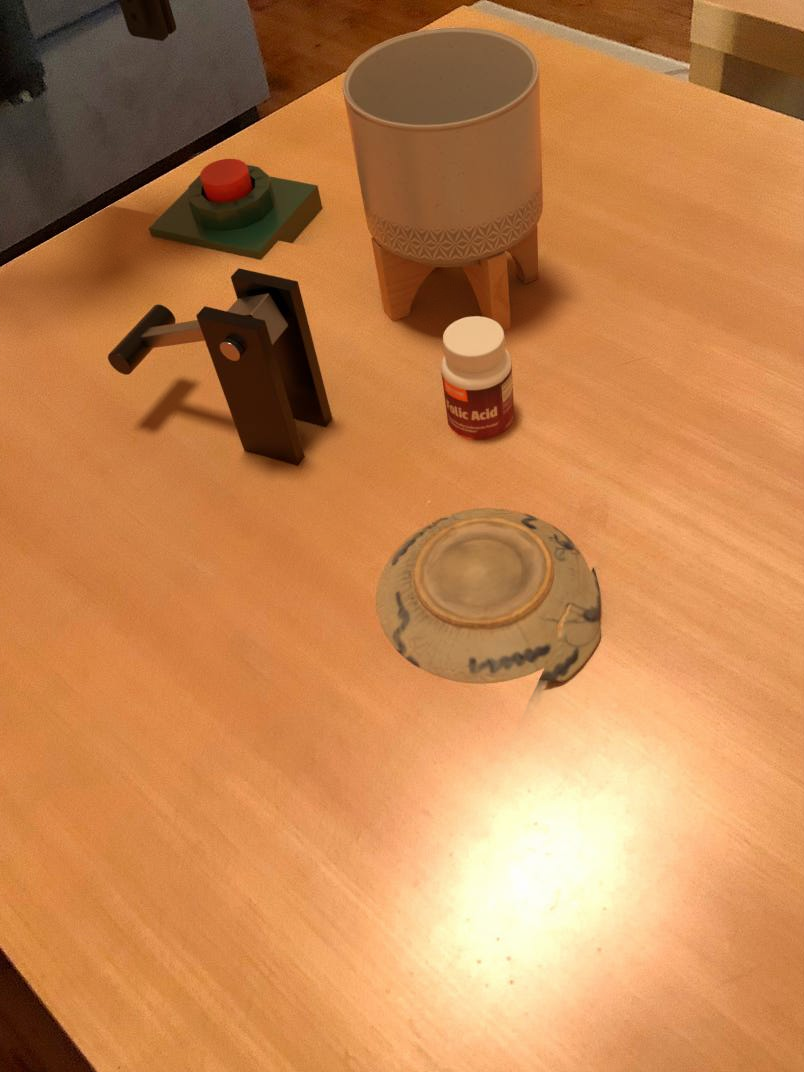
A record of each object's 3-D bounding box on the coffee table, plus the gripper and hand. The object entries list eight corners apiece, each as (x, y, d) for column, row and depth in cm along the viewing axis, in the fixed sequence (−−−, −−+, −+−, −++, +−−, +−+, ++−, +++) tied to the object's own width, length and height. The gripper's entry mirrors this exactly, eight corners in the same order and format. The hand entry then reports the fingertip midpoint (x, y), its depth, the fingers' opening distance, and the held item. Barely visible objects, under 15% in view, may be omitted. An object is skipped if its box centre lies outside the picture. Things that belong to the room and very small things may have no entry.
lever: (121, 379, 72) (99, 350, 70) (166, 330, 74) (146, 301, 73) (258, 363, 64) (236, 330, 63) (301, 309, 67) (282, 277, 65)
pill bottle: (441, 450, 73) (428, 355, 67) (458, 404, 76) (446, 308, 69) (507, 458, 72) (500, 363, 66) (522, 412, 75) (517, 315, 68)
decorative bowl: (523, 750, 59) (652, 570, 66) (519, 717, 56) (654, 532, 63) (320, 640, 65) (457, 485, 71) (307, 604, 62) (451, 446, 68)
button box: (156, 250, 90) (141, 208, 87) (218, 187, 95) (205, 145, 92) (265, 274, 87) (253, 231, 84) (322, 208, 92) (313, 165, 89)
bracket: (189, 471, 74) (125, 322, 64) (254, 390, 79) (205, 239, 68) (336, 514, 71) (294, 364, 60) (395, 427, 75) (366, 273, 65)
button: (196, 200, 88) (190, 180, 86) (222, 174, 90) (216, 155, 88) (237, 208, 87) (231, 188, 85) (261, 182, 89) (256, 162, 87)
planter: (576, 316, 81) (576, 83, 66) (427, 377, 78) (394, 148, 63) (495, 234, 88) (480, 8, 73) (356, 288, 85) (311, 64, 70)
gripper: (82, -330, 67) (167, -17, 82) (-76, -256, 59) (50, 74, 74) (179, -324, 65) (249, -5, 80) (29, -247, 57) (137, 91, 72)
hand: (153, 33), depth 77 cm, fingers closed
